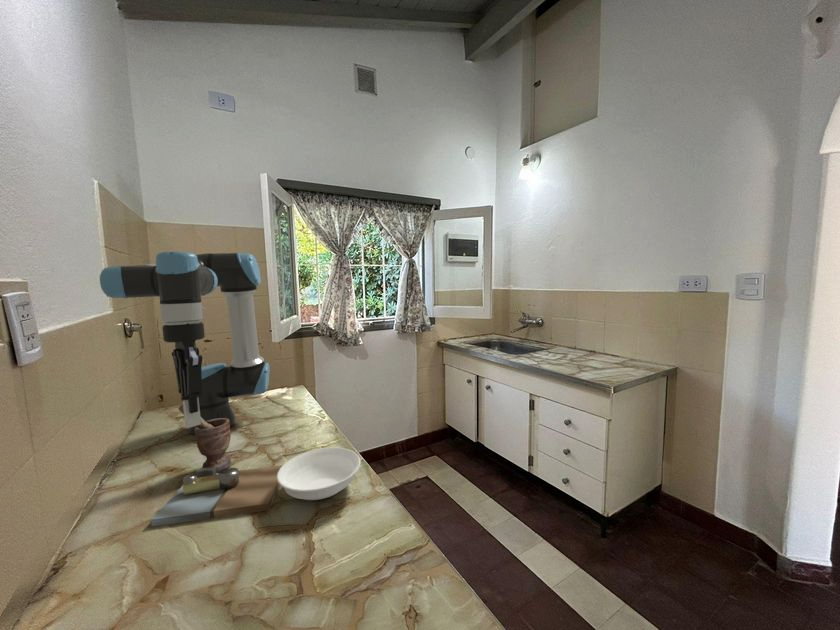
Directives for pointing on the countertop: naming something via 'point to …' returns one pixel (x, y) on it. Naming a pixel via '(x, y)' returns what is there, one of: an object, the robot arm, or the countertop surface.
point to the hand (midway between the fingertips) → (193, 425)
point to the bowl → (319, 473)
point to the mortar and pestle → (213, 441)
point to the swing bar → (211, 481)
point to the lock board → (222, 498)
